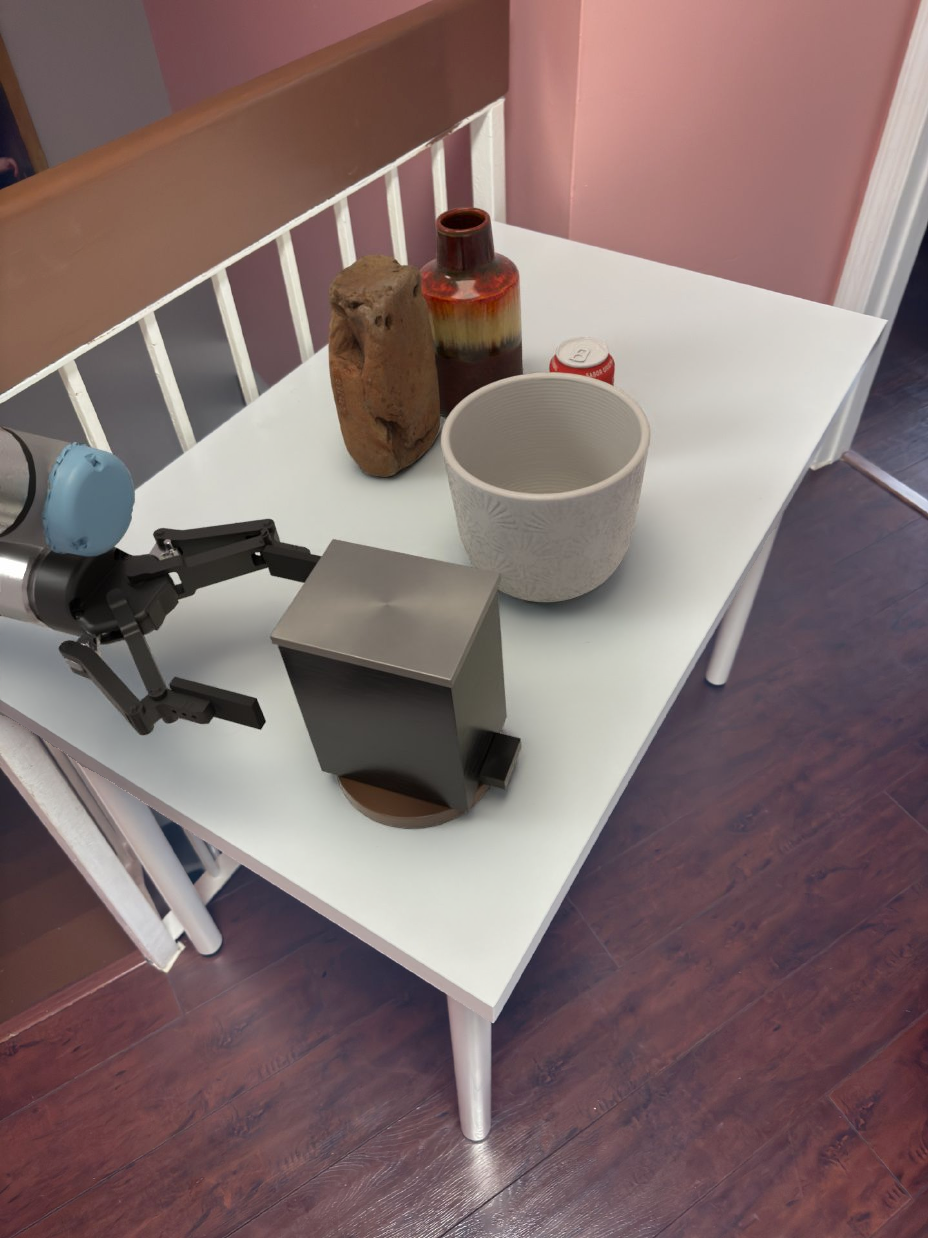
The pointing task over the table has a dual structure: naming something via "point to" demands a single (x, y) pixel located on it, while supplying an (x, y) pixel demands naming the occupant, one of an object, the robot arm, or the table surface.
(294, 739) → the table surface
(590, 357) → the beverage can
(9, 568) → the robot arm
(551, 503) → the planter
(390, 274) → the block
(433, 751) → the bin
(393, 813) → the disc
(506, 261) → the vase
